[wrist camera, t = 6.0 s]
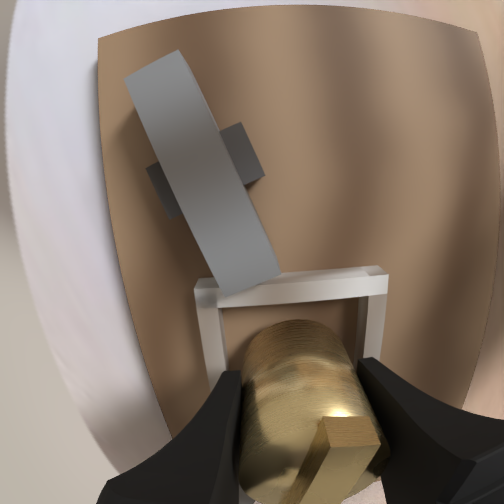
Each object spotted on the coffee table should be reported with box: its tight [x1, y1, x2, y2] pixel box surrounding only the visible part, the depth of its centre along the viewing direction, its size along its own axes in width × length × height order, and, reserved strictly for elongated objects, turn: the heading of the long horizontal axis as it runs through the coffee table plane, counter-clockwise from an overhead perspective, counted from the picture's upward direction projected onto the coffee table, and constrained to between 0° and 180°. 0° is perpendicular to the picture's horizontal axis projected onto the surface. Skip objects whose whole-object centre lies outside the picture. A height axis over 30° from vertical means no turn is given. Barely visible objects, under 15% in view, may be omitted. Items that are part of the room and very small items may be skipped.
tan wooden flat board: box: [98, 5, 500, 504], centre depth 13 cm, size 18×28×4 cm, turn 6°
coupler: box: [239, 319, 390, 504], centre depth 10 cm, size 5×4×7 cm
